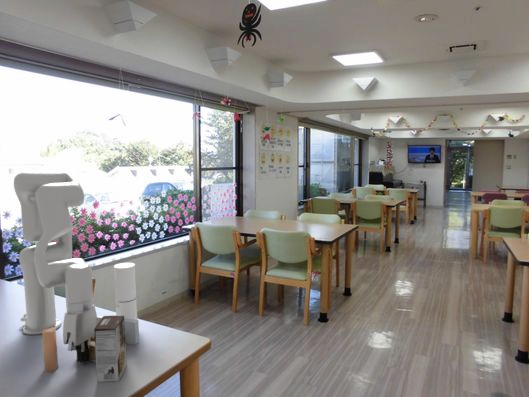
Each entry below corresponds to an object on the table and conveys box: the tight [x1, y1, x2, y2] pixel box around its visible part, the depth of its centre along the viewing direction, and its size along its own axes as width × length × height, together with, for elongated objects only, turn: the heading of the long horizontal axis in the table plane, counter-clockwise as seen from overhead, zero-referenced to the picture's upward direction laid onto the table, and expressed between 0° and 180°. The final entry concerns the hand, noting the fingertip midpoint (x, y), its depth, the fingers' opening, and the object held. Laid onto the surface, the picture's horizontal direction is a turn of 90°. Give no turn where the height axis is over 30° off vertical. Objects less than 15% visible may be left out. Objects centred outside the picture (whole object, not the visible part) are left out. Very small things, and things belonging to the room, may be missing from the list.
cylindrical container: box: [113, 262, 138, 320], centre depth 144 cm, size 7×7×25 cm
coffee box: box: [94, 315, 128, 383], centre depth 117 cm, size 9×6×16 cm
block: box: [75, 337, 96, 362], centre depth 130 cm, size 10×10×5 cm
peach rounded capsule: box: [41, 328, 59, 372], centre depth 120 cm, size 4×4×12 cm
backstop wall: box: [97, 314, 140, 346], centre depth 138 cm, size 16×2×8 cm, turn 73°
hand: (83, 361), depth 123 cm, fingers closed
